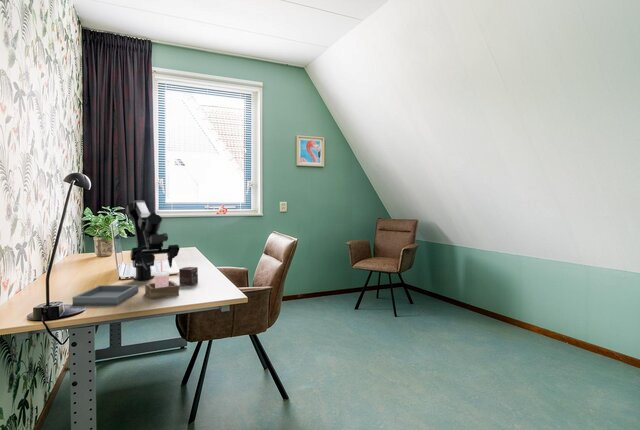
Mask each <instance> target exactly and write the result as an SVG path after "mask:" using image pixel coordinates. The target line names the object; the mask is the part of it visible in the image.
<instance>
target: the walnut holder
mask: <svg viewBox="0 0 640 430" xmlns="http://www.w3.org/2000/svg"><path fill="white" fill-rule="evenodd" d="M144 286H145V288H144V289H145V290H144V291H145V292H144V293H145V295H146V296H147V295H148V296H149V297H148V296H147V297H148V298H149V299H150V300H156V299H157V298H158V299H164V298H171V297H177V296H179V295H180V291H179V290H180V289H179V287H180V285H178V284H177V283H176V282H174V280H173V281H172V280H169V285H168V287H161V288H155V282H153V283H152V282H151V283H150V282H149V283H145V285H144ZM158 299H157V300H158Z"/></svg>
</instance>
